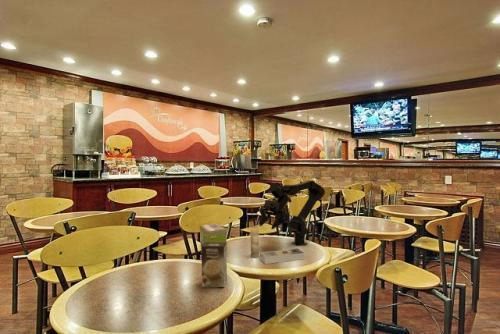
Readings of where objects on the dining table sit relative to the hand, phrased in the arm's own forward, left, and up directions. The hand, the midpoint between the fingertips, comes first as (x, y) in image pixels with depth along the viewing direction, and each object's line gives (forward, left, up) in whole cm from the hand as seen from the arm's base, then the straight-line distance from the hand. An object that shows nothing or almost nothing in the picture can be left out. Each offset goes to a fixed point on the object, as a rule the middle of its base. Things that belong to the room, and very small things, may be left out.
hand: (265, 227), depth 152 cm
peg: (+3, -7, -14) cm, 16 cm away
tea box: (-7, -27, -14) cm, 31 cm away
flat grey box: (+11, +4, -14) cm, 18 cm away
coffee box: (+30, -32, -14) cm, 46 cm away
